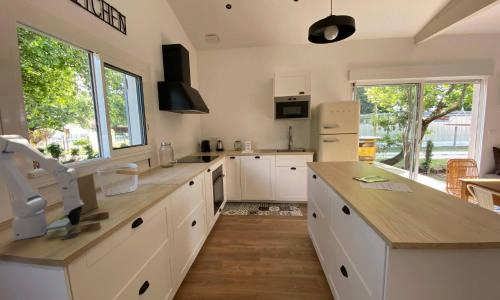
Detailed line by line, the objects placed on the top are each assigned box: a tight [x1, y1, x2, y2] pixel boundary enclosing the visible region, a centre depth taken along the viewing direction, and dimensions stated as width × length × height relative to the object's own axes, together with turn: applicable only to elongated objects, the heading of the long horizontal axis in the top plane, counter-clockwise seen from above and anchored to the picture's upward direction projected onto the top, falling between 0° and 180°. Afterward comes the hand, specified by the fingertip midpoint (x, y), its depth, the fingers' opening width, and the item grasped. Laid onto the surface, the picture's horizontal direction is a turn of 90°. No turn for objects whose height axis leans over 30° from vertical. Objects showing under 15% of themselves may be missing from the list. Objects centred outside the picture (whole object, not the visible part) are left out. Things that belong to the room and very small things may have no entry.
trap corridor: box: [46, 210, 110, 241], centre depth 91 cm, size 18×22×3 cm
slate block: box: [45, 218, 76, 238], centre depth 89 cm, size 7×8×4 cm
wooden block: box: [77, 173, 99, 216], centre depth 110 cm, size 10×10×20 cm
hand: (75, 224), depth 91 cm, fingers closed
